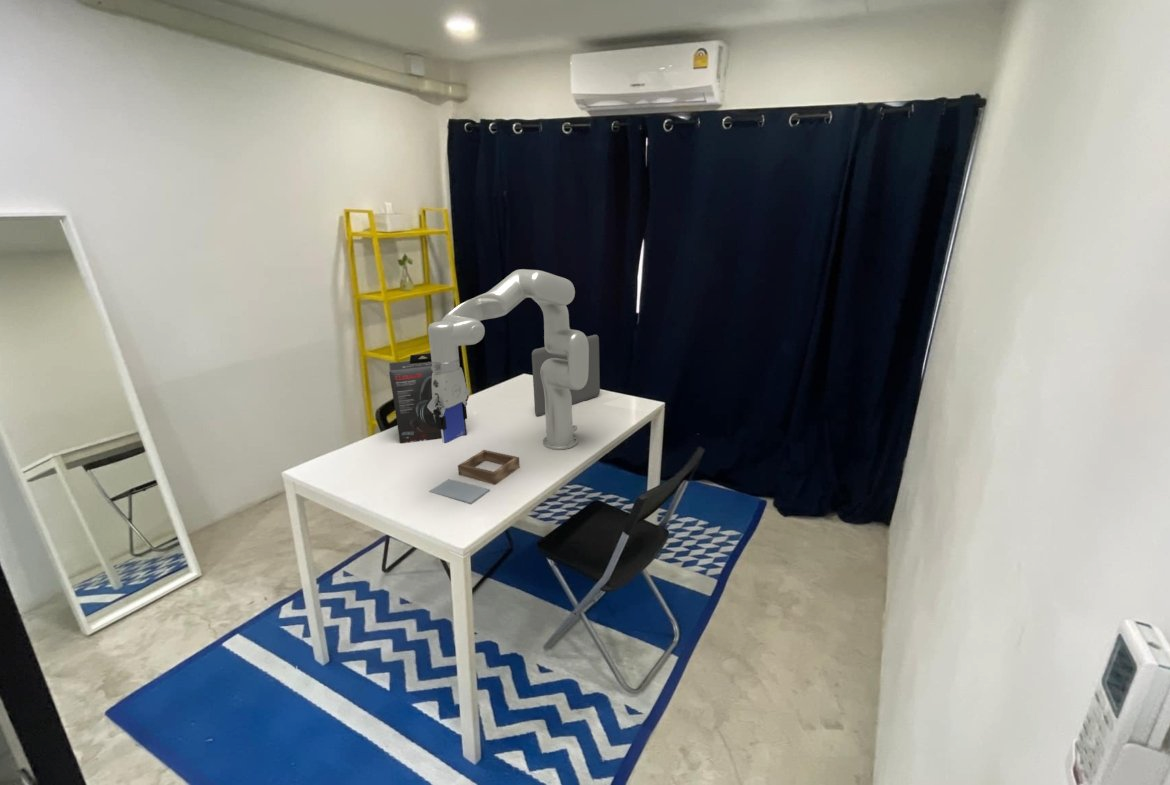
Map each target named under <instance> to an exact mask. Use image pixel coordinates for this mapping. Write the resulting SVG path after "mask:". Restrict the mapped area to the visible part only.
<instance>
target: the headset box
mask: <svg viewBox="0 0 1170 785" xmlns="http://www.w3.org/2000/svg"><path fill="white" fill-rule="evenodd" d="M422 356H423V358H421V357H422ZM431 367H432V360H431V352H427V353H418V354H410V357H409V360H405V361H397V362H396V361H395V362H389V364H388V368H389V369H388V373H389V374H388V375H389V381H390V385H391V391H392V392H391V393H392V398H393V399H392V400H393V406H394V412H395V417H396V418H395V419H396V423H397V424H396V425H397V432H398V438H399V443H400V444H409V443H417V442H418V443H419V442H425V441H432V440H433V441H435V440H442V434H441V429H437V426H436V418H435V416H434V415H433V414H432V413H431V412H430V410H429V409H428V407H427V405H428V404H429V402H430V401H431V400H432V373H433V371H432V369H431ZM464 428H465V434H464V435H462V436H461V437H463V436H467V435H468V431H467V425H466V419H464Z"/></svg>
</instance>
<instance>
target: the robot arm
mask: <svg viewBox="0 0 1170 785" xmlns="http://www.w3.org/2000/svg"><path fill="white" fill-rule="evenodd" d="M575 294H576V290H575V287H574V284H573V282H572V281H571V280H569V279H567V278H565V277H562V276H560V275H559V276H558V275H555V274H553V273H550V272H547V271H544V270H539V269H526V268H525V269H524V268H522V269H516V270H514V271H512V272H511V273H510V274H509V275H507V276H505V278H504V279H502V280H501V281H500V282H499V283H497V284H496V285H495V286H493V287H492V288H491V289H489V290H488V291H486V292H485V293H482V294H479V295H476V296H475V297H473V298H470V299H467V300H465V301H464V302H461V303H460V304H459V305H456V306H455V307H454V308H452V309H451V310H450V311H449V312H448V313H446V314H445V316H443V318H442V319H441V320H440V321H434V322H431V323H430V324H429V325H428V327H427V330H428V331H427V334H428V340H429V350H430V353H431V360H432V367H431V369H432V371H433V373H432V400H431V401H430V402H429V404H428V405H427V407H428V409H429V410H430V412H431V413H432V414H433V415H434V416H435V418H436V426H437V429H442V430H446V428H447V427H446V418H445V416H443V415H444V412H445V409H446V408H451V407H453V406H455V405H457V404H459V403H461V402H462V409H463V418H464V419H465V420H467V419H468V413H467V412H468V411H467V406H468V400H469V397H470V396H469V395H470V392H471V389H470V388H469V387H467V383H466V378H465V374H464V371H463V368H462V367H461V366H460V355H459V354H460V353H459V347H460V346H471V345H476V344H477V343H479V342H481V341H482V340H483V338H484V336H485V332H486V330H485V326H484V324H483V323H482V322H481V321H484V320H489V319H496V318H500V317H503V316H506V315H507V314H508V313H510V312H511V311H512V310H513V309H514V308H516V307H517V306H518V305H519V304H520V303H522V301H523V300H525V299H527V298H531V299H532V300H533V301H534V302H535V303H537V305H538V306H539V307H540V309H541V312H542V314H543V330H544V332H543V333H544V334H543V335H544V336H543V339H544V347H545V349H546V351H547V352H548V353H550V354H553V355H558V356H563V357H567V359H568V360H564V359H559V358H550V359H547V360H546V361H545V362H544V363H543V364H542V366H541V370H540V374H541V380H542V383H543V388H544V396H545V414H544V416H545V428H546V429H545V430H546V431H545V433H546V436H545V437H544V438H543V439H542V445H543V447H545V448H546V449H550V450H555V451H556V450H557V451H560V450H567V449H568V450H569V449H571V448H574V447H575V446H576V445H577V444H578V437H576V435H575V436H574V432H576V431H577V430H578V426H577V425H573V405H572V398H571V393H570V390H569V389H572V390H580V389H582V388H583V387H584V386H585V385H586V383H587V380H588V368H589V344H588V340H587V337H588V336H587V335H586V334H585V333H584V332H582V331H580V330H577V329H572V328H571V327H570V318H569V317H570V314H569V309H568V307H567V305H569V304H571V303H572V302H573V300H574V298H575V296H576V295H575ZM438 402H440V404H441V405H438ZM438 407H439V408H441V411H440V412H439V409H438Z"/></svg>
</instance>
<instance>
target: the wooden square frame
mask: <svg viewBox="0 0 1170 785" xmlns="http://www.w3.org/2000/svg"><path fill="white" fill-rule="evenodd" d="M484 462H489V463H493V464H497V465H500V466H499V467H498V468H497V469H495V470H494V471H493V470H487V469H484V468H479V467H478V466H479V465H481V464H482V463H484ZM520 467H521V464H520V457H519V456H514V455H511V454H505V453H500V452H495V451H491V450H487V449H482V450H481V451H480V452H478V453H476V454H475V455H473V456H471V457H469V458H468V459H467V460H464V461H462V462H461V463H459V464H458V465H457V469H458V475H459V476H462V477H466V478H469V479H473V480H476V481H479V482H483V483H487V484H491V485H493V486H496V485H497V484H499V483H500V482H501V481H503V480H504V479H505V478H507V477H509V476H510V475H511V474H513V473H515V472H516V471H517V470H518V469H520Z"/></svg>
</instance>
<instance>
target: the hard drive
mask: <svg viewBox="0 0 1170 785" xmlns="http://www.w3.org/2000/svg"><path fill="white" fill-rule="evenodd" d="M438 405H441V404H440V402H438ZM438 409H439V412H440V411H441V408H439V407H438ZM443 416H445V418H446V427H447V428H446V430H442V429H441V434H442V439H441V441H442V443H443V444H447V443H450V442H452V441H454V440H456V439H459V438H460V437H463V436H462V435H464V434H465V428H464V418H463V409H462V402H461V403H459V404H457V405H455V406H453V407H451V408H446V409H445V412H444V415H443Z"/></svg>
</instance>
